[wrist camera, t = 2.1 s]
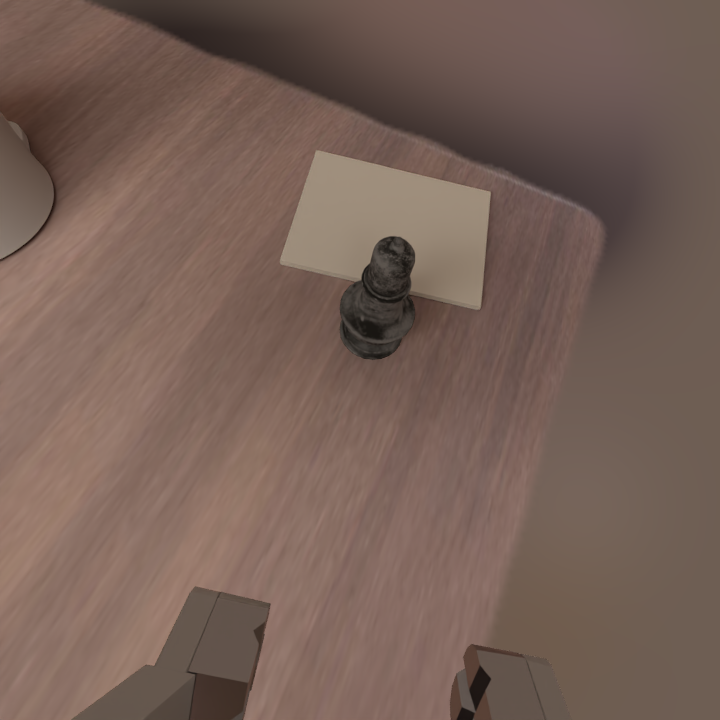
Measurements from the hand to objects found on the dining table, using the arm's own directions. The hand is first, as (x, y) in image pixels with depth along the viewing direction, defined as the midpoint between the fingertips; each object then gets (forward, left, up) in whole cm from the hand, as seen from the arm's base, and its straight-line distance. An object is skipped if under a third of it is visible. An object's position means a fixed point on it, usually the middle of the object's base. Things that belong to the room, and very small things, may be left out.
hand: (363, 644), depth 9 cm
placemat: (0, +32, -23) cm, 39 cm away
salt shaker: (0, +20, -24) cm, 31 cm away
